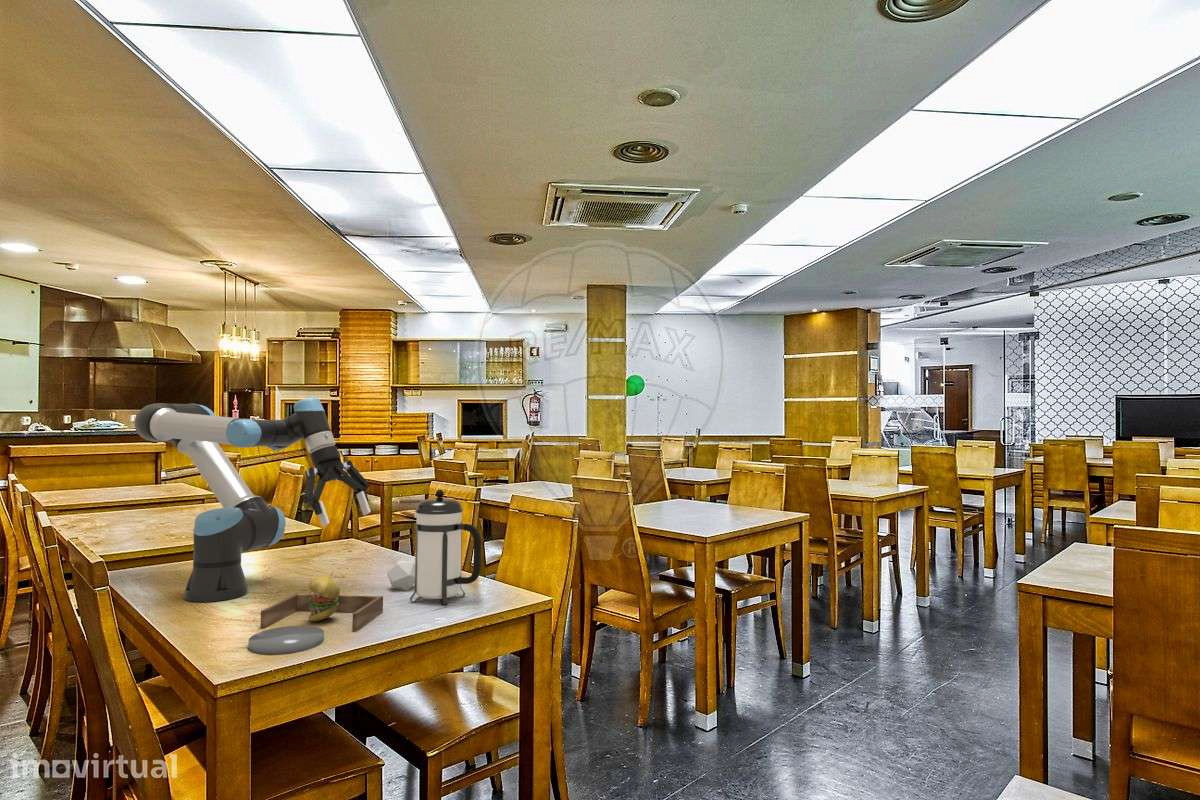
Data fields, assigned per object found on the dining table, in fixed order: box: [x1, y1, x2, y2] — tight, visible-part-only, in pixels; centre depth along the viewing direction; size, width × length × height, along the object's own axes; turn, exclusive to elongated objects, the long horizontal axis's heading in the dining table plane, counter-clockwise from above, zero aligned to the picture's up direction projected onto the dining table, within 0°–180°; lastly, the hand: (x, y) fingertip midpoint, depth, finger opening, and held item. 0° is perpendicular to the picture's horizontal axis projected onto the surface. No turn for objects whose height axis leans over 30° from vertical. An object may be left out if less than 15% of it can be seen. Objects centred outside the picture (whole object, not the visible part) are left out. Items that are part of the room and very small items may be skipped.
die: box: [386, 560, 415, 591], centre depth 198 cm, size 8×9×10 cm
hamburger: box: [307, 571, 341, 623], centre depth 166 cm, size 8×7×12 cm
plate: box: [247, 625, 325, 655], centre depth 149 cm, size 15×15×2 cm
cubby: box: [259, 593, 384, 632], centre depth 166 cm, size 23×16×4 cm
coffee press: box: [409, 489, 482, 607], centre depth 187 cm, size 17×16×30 cm
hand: (347, 519), depth 192 cm, fingers open, 13 cm apart
